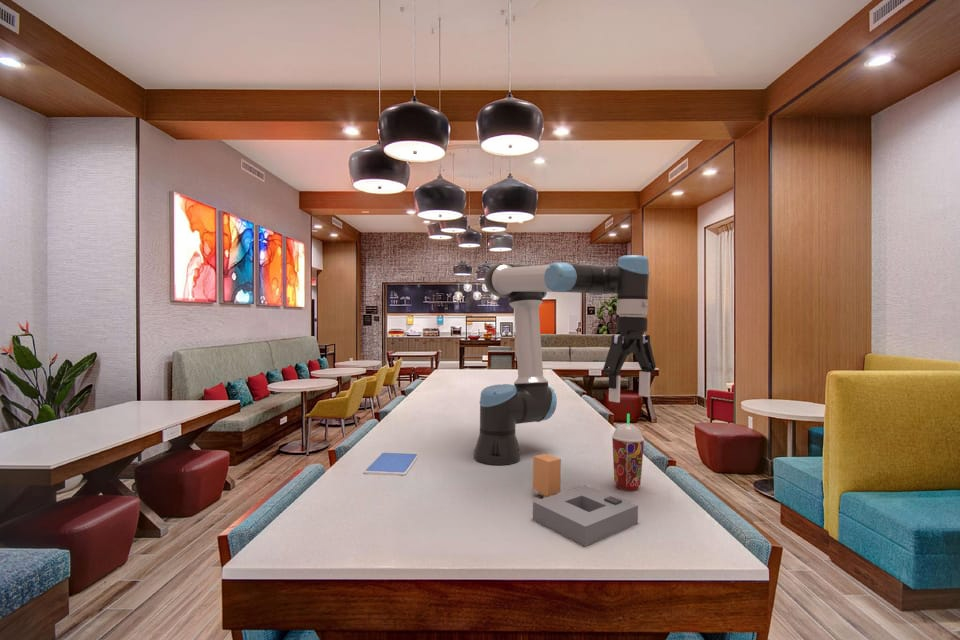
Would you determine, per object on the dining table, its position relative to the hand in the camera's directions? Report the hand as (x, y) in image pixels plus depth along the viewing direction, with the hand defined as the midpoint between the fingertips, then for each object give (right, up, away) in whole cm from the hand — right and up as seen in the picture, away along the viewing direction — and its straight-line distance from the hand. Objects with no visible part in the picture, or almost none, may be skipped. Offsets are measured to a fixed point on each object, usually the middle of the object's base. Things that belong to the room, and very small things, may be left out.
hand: (629, 398), depth 115 cm
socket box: (-15, -25, -14) cm, 32 cm away
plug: (-22, -25, -1) cm, 33 cm away
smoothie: (+2, -26, +7) cm, 26 cm away
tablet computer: (-65, -25, +23) cm, 74 cm away
